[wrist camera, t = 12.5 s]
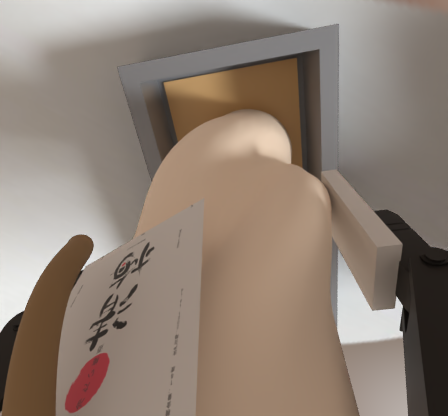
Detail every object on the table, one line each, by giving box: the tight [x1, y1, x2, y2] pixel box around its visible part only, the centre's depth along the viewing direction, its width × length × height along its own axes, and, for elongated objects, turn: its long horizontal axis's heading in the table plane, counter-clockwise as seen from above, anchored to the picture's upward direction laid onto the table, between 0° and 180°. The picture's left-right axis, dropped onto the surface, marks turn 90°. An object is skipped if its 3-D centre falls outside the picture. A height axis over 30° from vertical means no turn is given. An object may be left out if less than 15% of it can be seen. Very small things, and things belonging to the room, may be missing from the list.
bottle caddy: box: [117, 24, 339, 328], centre depth 29 cm, size 14×30×6 cm, turn 10°
